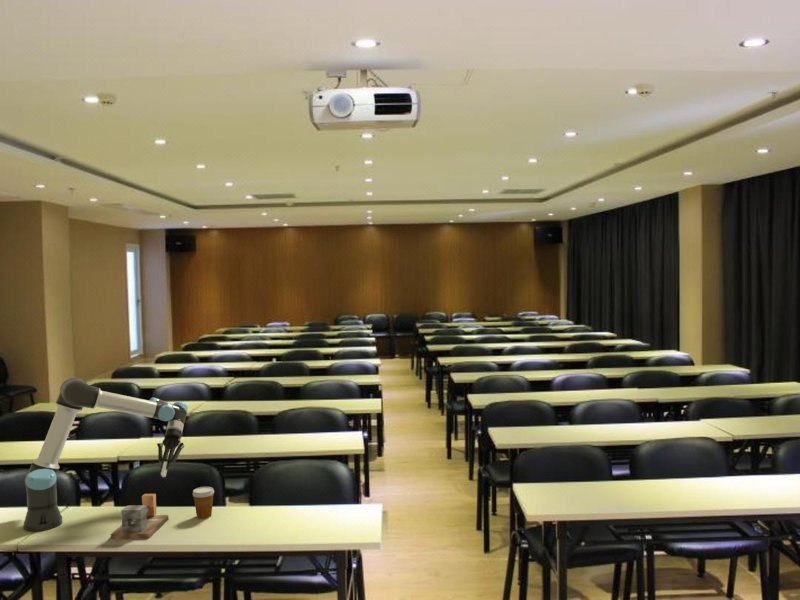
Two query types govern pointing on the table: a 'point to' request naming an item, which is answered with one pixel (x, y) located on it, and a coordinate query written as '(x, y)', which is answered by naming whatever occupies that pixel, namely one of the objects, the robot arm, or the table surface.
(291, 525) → the table surface
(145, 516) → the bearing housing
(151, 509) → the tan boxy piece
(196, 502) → the disposable coffee cup
